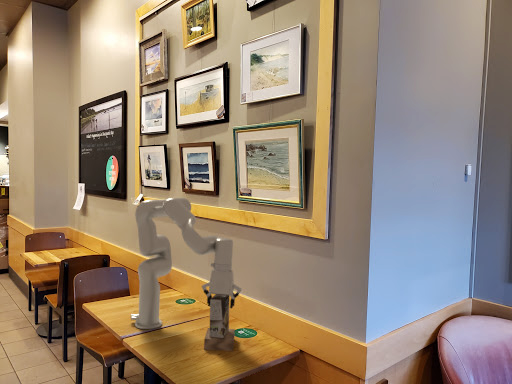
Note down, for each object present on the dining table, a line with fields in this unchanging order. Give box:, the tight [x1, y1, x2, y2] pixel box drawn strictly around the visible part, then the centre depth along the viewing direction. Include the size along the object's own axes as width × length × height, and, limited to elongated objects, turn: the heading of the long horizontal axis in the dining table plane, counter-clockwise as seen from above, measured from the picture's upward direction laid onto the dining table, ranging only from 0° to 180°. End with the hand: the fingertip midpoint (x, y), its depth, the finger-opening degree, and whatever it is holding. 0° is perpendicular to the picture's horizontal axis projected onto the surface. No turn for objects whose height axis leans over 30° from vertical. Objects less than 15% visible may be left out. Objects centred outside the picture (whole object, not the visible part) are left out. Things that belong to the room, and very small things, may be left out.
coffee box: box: [209, 294, 230, 338], centre depth 167 cm, size 9×6×16 cm
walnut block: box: [203, 327, 236, 352], centre depth 167 cm, size 12×12×5 cm
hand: (220, 306), depth 167 cm, fingers open, 9 cm apart
